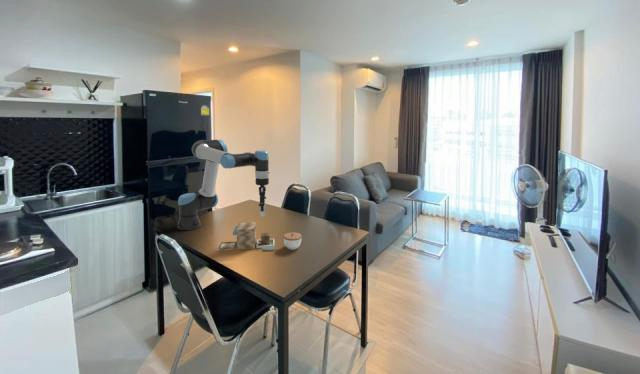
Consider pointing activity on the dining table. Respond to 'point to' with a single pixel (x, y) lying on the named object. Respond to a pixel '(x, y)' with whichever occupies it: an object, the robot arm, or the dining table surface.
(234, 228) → the slide cover
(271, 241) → the tray
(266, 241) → the treat block
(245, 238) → the brown patterned stepped stand
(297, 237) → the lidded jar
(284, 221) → the dining table surface
